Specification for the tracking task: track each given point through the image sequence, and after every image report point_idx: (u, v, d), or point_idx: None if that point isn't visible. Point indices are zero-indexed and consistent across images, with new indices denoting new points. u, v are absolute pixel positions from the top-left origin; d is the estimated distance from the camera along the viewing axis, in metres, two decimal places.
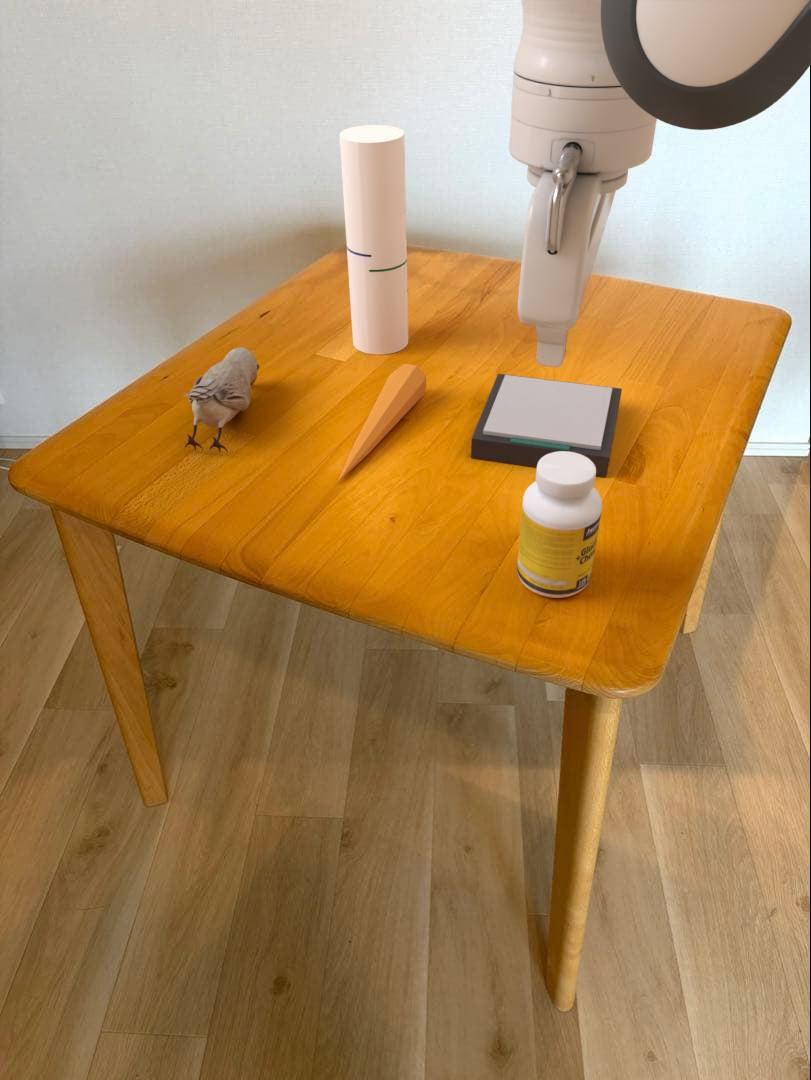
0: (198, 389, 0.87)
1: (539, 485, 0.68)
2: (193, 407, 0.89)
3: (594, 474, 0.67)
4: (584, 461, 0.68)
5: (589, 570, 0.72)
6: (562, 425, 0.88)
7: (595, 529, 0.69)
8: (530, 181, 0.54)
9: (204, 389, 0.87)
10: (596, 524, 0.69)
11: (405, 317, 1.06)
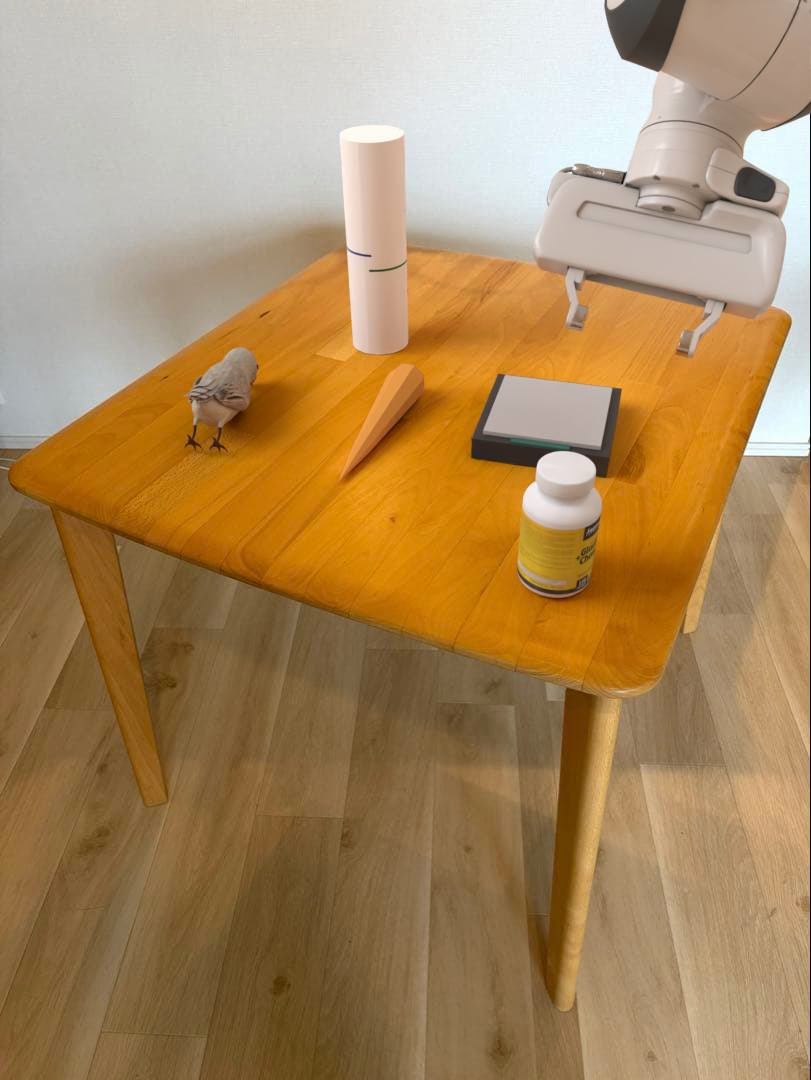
0: (198, 389, 0.87)
1: (539, 485, 0.68)
2: (193, 407, 0.89)
3: (594, 474, 0.67)
4: (584, 461, 0.68)
5: (589, 570, 0.72)
6: (562, 425, 0.88)
7: (595, 529, 0.69)
8: None
9: (204, 389, 0.87)
10: (596, 524, 0.69)
11: (405, 317, 1.06)
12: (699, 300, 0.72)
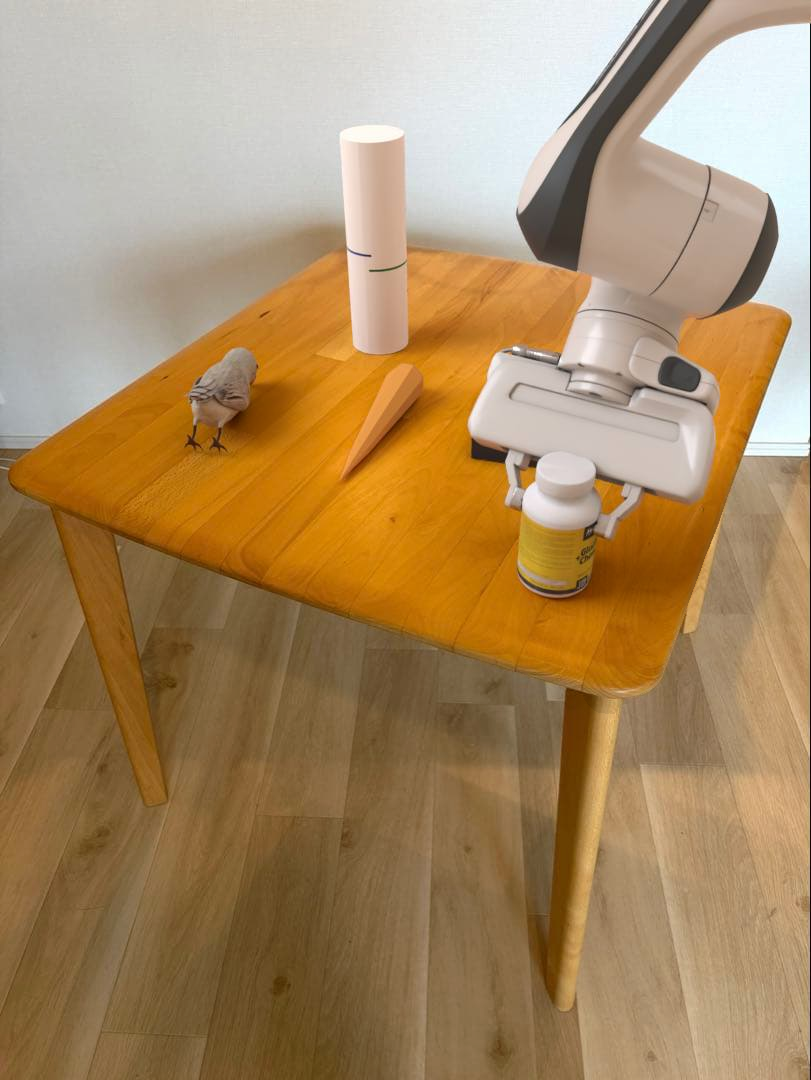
0: (198, 389, 0.87)
1: (539, 485, 0.68)
2: (193, 407, 0.89)
3: (594, 474, 0.67)
4: (584, 461, 0.68)
5: (589, 570, 0.72)
6: None
7: None
8: None
9: (204, 389, 0.87)
10: None
11: (405, 317, 1.06)
12: None
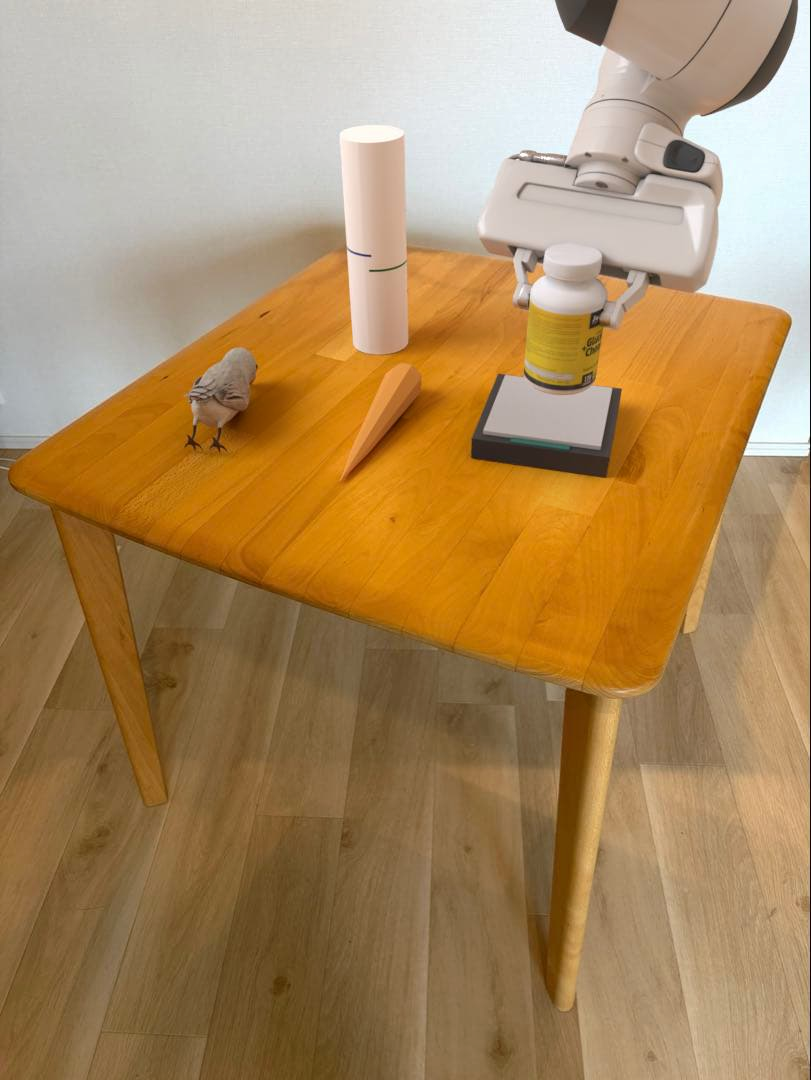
0: (198, 389, 0.87)
1: (547, 271, 0.69)
2: (192, 407, 0.89)
3: (600, 258, 0.69)
4: (590, 249, 0.70)
5: (594, 367, 0.74)
6: (562, 425, 0.88)
7: None
8: None
9: (204, 389, 0.87)
10: None
11: (405, 317, 1.06)
12: None
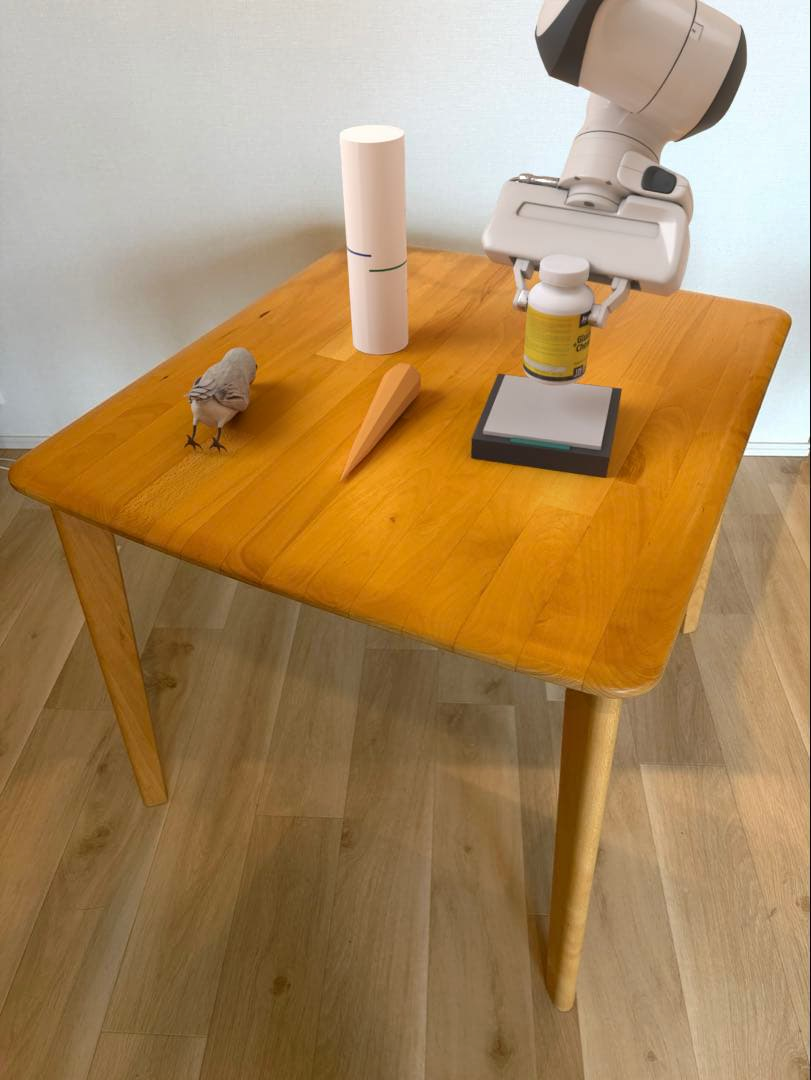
0: (198, 389, 0.87)
1: (542, 278, 0.81)
2: (192, 407, 0.89)
3: (588, 267, 0.80)
4: (579, 259, 0.81)
5: (584, 361, 0.85)
6: (562, 425, 0.88)
7: None
8: None
9: (203, 389, 0.87)
10: None
11: (405, 317, 1.06)
12: None
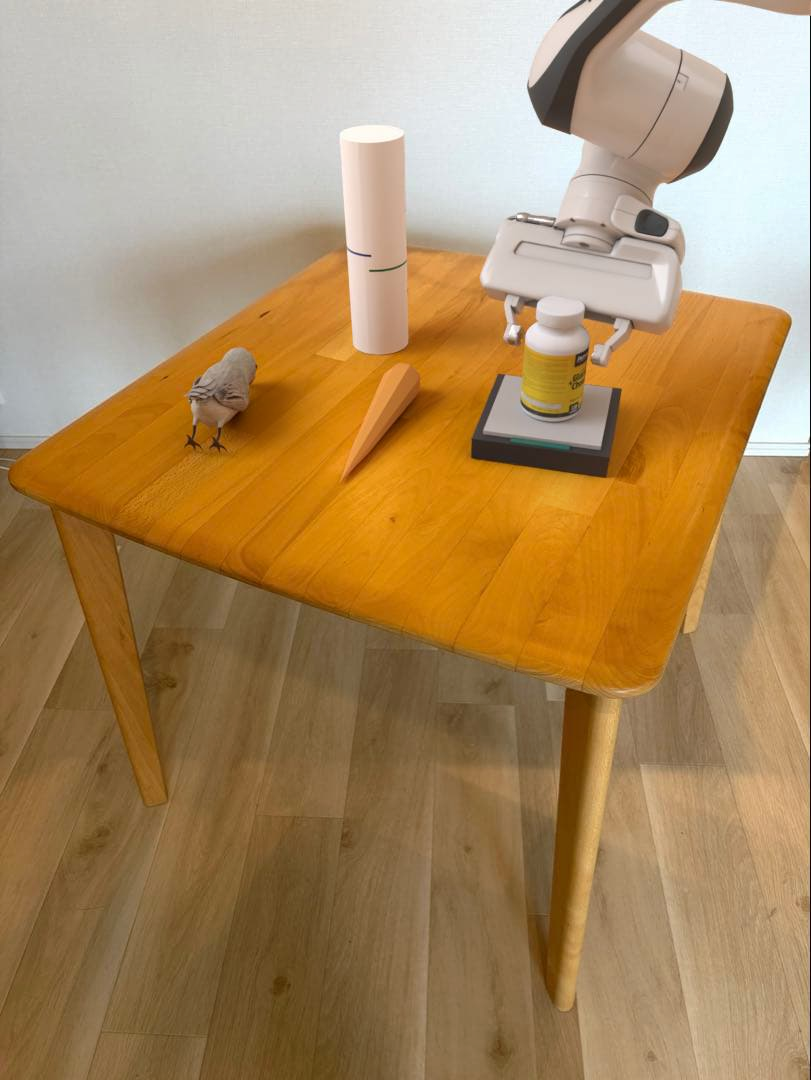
0: (197, 389, 0.87)
1: (539, 320, 0.83)
2: (192, 407, 0.89)
3: (583, 309, 0.83)
4: (575, 301, 0.84)
5: (579, 398, 0.88)
6: (562, 425, 0.88)
7: (584, 358, 0.85)
8: None
9: (203, 389, 0.87)
10: (585, 354, 0.85)
11: (405, 317, 1.06)
12: (615, 320, 0.85)
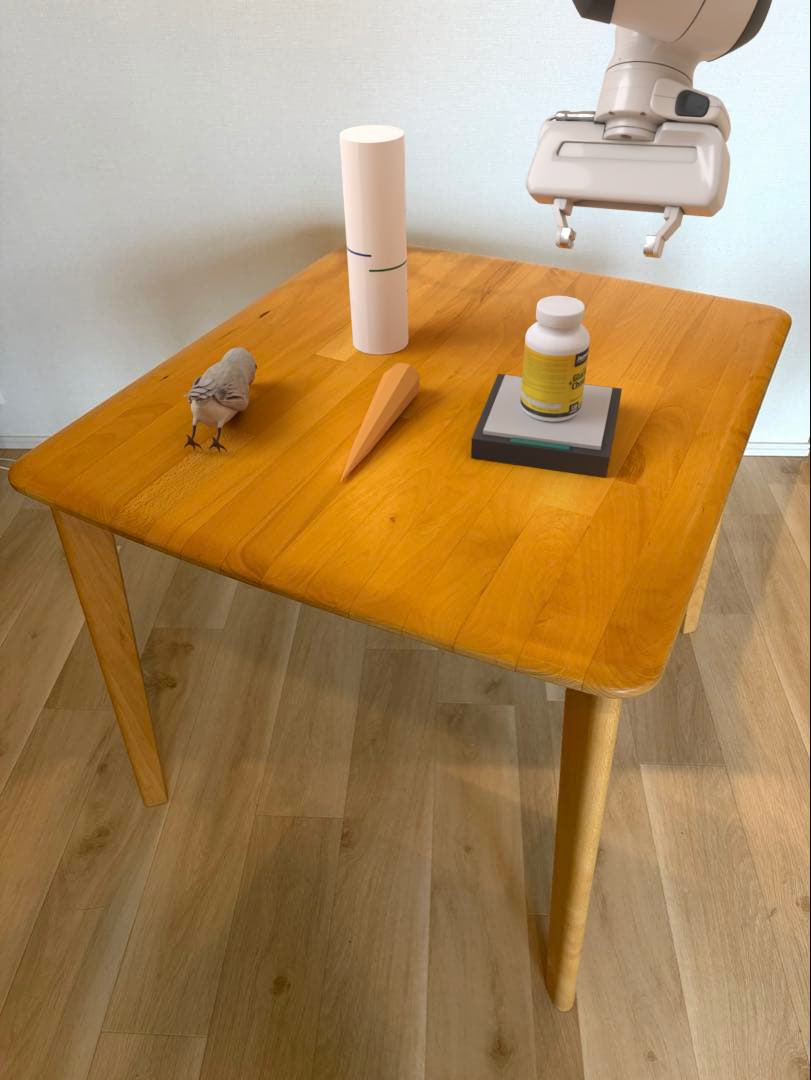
0: (197, 389, 0.87)
1: (539, 320, 0.83)
2: (192, 407, 0.89)
3: (583, 309, 0.83)
4: (575, 301, 0.84)
5: (579, 398, 0.88)
6: (562, 425, 0.88)
7: (584, 358, 0.85)
8: None
9: (203, 389, 0.87)
10: (585, 354, 0.85)
11: (405, 317, 1.06)
12: None
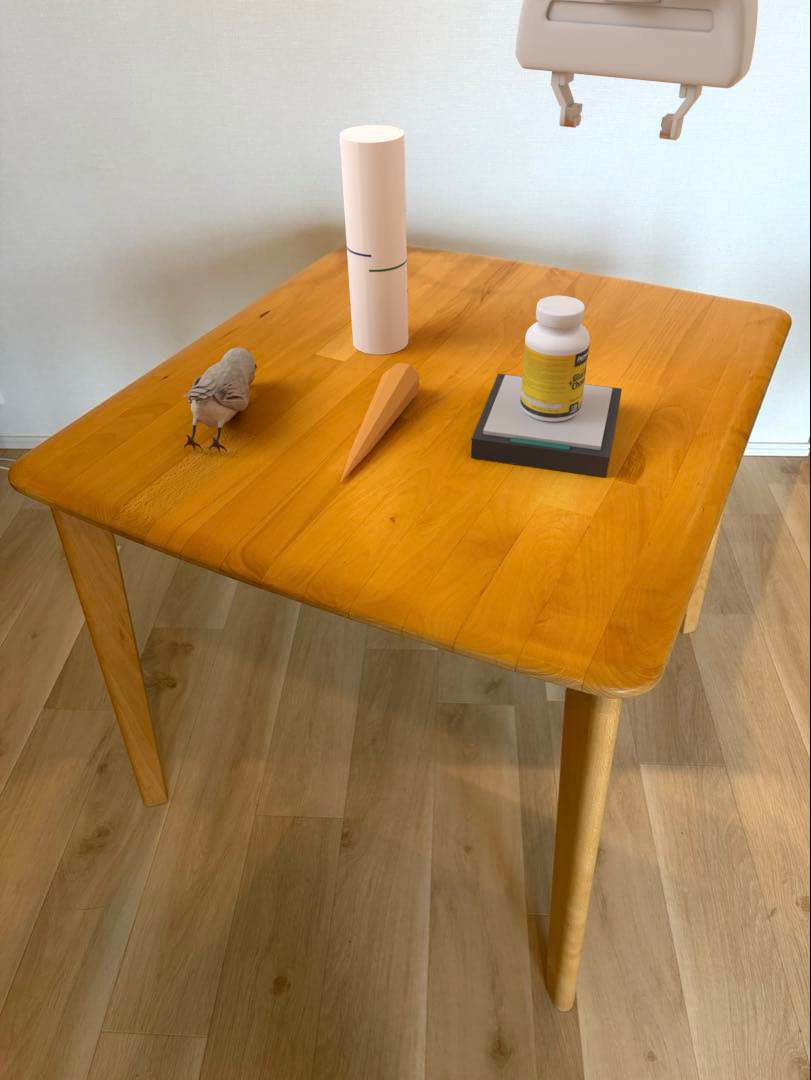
0: (197, 389, 0.87)
1: (539, 320, 0.83)
2: (192, 407, 0.89)
3: (583, 309, 0.83)
4: (575, 301, 0.84)
5: (579, 398, 0.88)
6: (562, 425, 0.88)
7: (584, 358, 0.85)
8: None
9: (203, 389, 0.87)
10: (585, 354, 0.85)
11: (405, 317, 1.06)
12: None
